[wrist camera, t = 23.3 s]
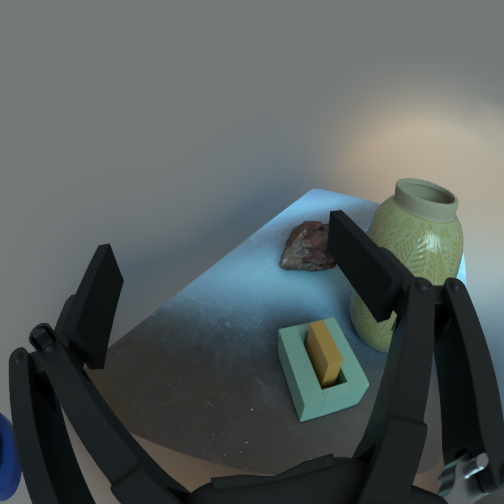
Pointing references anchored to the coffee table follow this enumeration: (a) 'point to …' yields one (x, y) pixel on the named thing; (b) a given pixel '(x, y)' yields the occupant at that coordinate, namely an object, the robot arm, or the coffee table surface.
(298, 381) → the toaster
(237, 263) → the coffee table surface
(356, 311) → the vase
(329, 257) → the mineral specimen
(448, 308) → the robot arm
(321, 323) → the toast
